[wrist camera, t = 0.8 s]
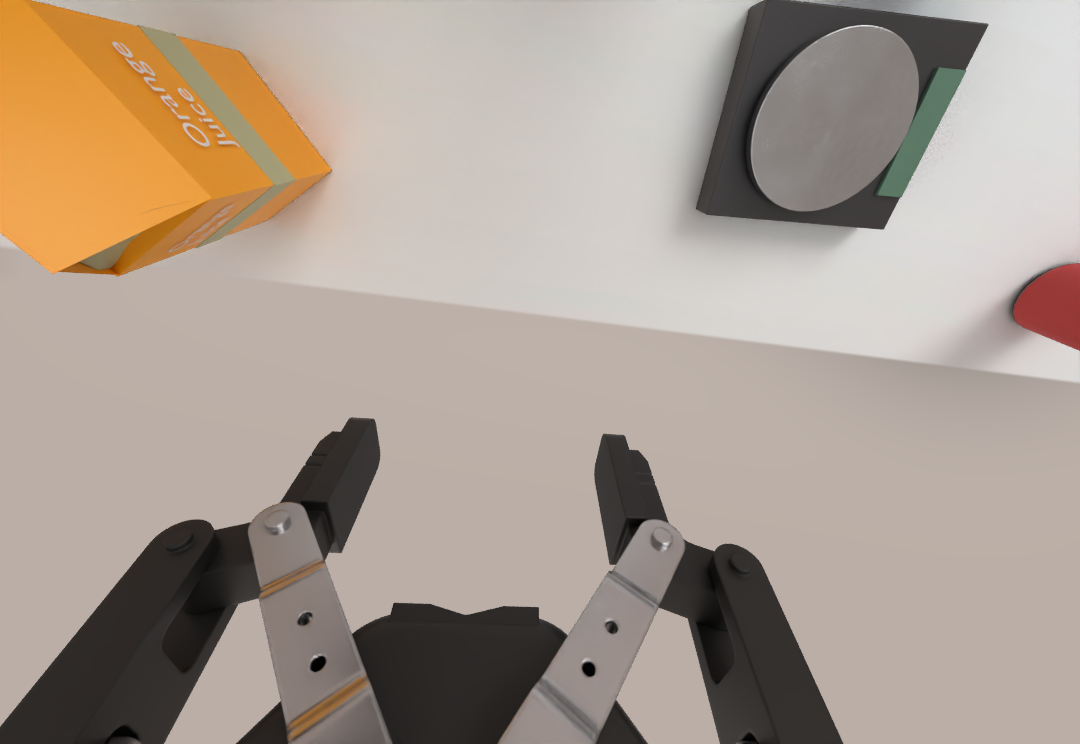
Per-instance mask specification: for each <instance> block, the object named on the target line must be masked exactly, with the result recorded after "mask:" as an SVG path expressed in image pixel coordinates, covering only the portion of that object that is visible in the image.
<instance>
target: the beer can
mask: <svg viewBox="0 0 1080 744" xmlns="http://www.w3.org/2000/svg"><path fill="white" fill-rule="evenodd" d="M1013 316H1014V318H1015V321H1016V323H1018V324H1019V325H1020V326H1022V327H1024V328H1026V329H1028V330H1031V331H1033V332H1036V333H1038V334H1040V335H1043V336H1045V337H1048V338H1050V339H1052V340H1055V341H1057V342H1060V343H1062V344H1065V345H1067V346H1069V347H1072V348H1074V349H1077V350H1079V351H1080V263H1076V264H1069V265H1063V266H1060V267H1057V268H1055V269H1052V270H1049V271H1047V272H1046V273H1044V274H1042V275H1041V276H1039V277H1037V278H1036V279H1035V280H1033V281H1032V282H1031V283H1030V284H1029V285H1028V286H1026V287H1025V289H1024V290H1023V291H1022V292H1021V294H1020V295H1019V296H1018V298H1017V300H1016V302H1015V304H1014V309H1013Z"/></svg>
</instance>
